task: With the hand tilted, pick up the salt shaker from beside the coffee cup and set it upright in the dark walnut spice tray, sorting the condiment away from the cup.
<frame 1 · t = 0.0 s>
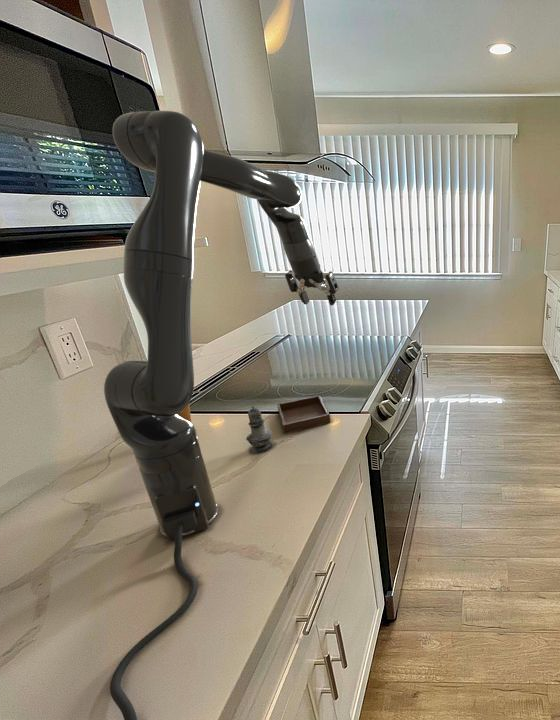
hand: (320, 303, 120), 31 cm above the worktop, tool tilted 20°, fingers open, 8 cm apart
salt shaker: (262, 448, 102), on the worktop
spice tray: (304, 416, 118), on the worktop
disposable coffee cup: (178, 436, 107), on the worktop
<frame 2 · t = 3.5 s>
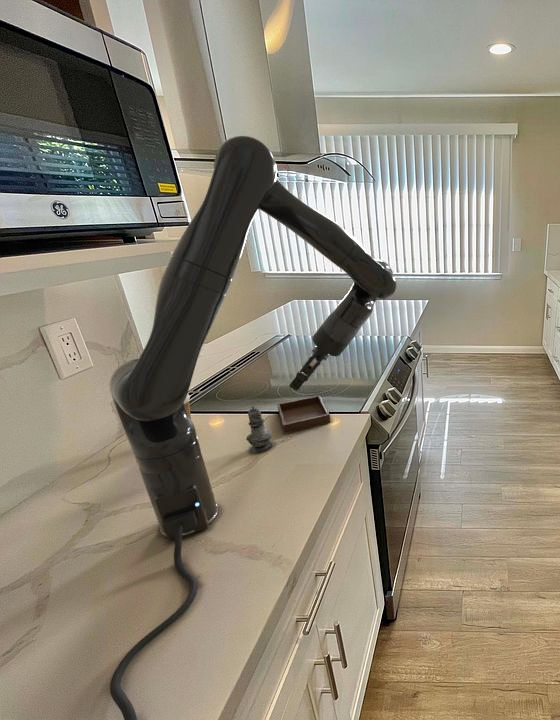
hand: (298, 380, 97), 18 cm above the worktop, tool tilted 40°, fingers open, 8 cm apart
nothing on the worktop moved.
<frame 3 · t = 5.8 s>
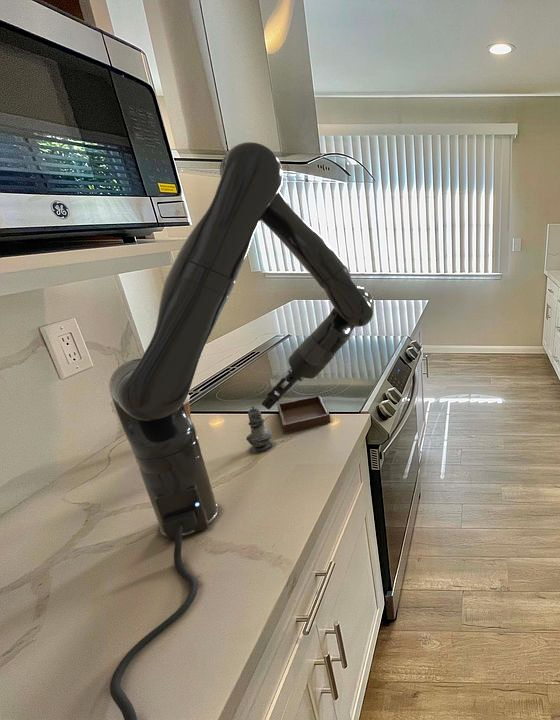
hand: (274, 398, 98), 14 cm above the worktop, tool tilted 45°, fingers open, 8 cm apart
nothing on the worktop moved.
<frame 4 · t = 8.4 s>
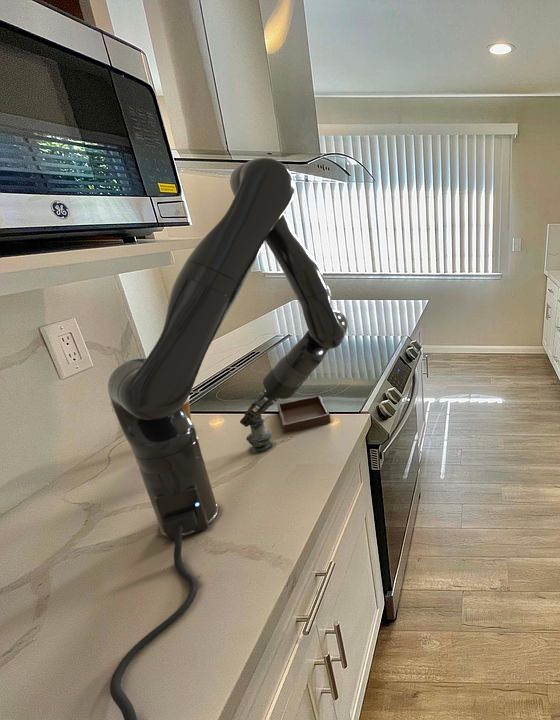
hand: (247, 420, 99), 8 cm above the worktop, tool tilted 45°, fingers closed on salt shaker, 3 cm apart
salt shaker: (262, 448, 102), on the worktop, touching gripper
everything else where it was.
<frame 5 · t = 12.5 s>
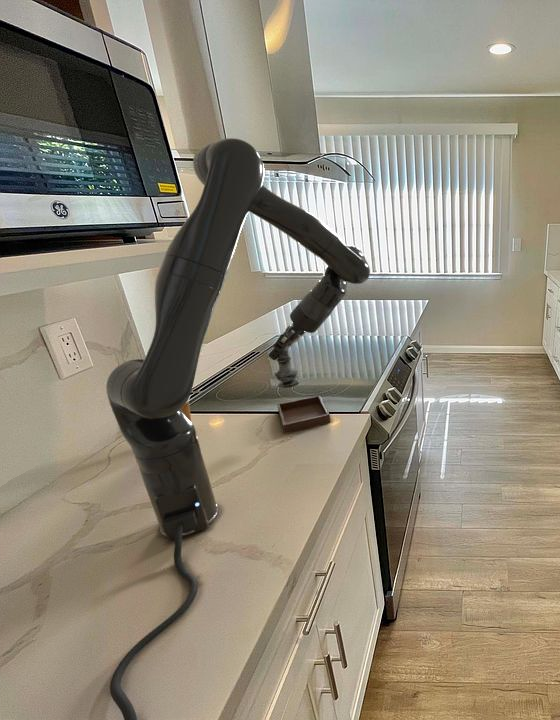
hand: (274, 355, 106), 21 cm above the worktop, tool tilted 45°, fingers closed on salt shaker, 3 cm apart
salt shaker: (288, 384, 110), point 12 cm above the worktop, touching gripper
everything else where it was.
when the fingers open (9 cm above the worktop, at t = 16.5 s): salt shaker stays where it is, resting on spice tray.
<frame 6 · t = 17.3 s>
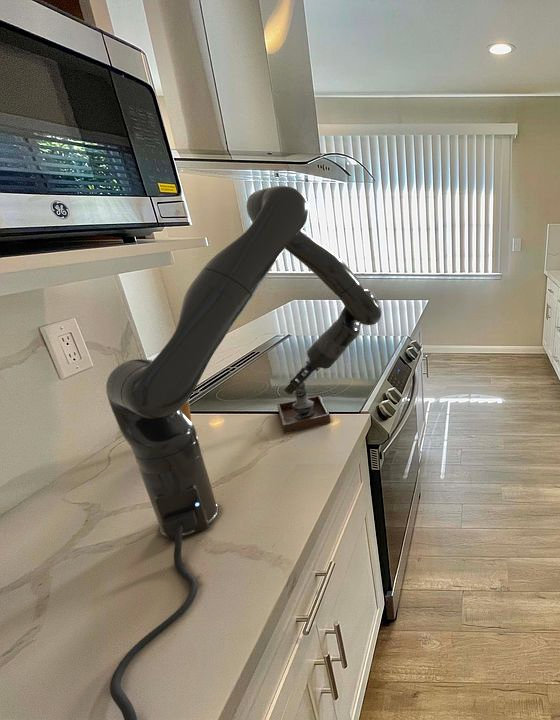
hand: (294, 386, 114), 10 cm above the worktop, tool tilted 45°, fingers open, 8 cm apart
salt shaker: (305, 415, 118), resting on spice tray
everything else where it was.
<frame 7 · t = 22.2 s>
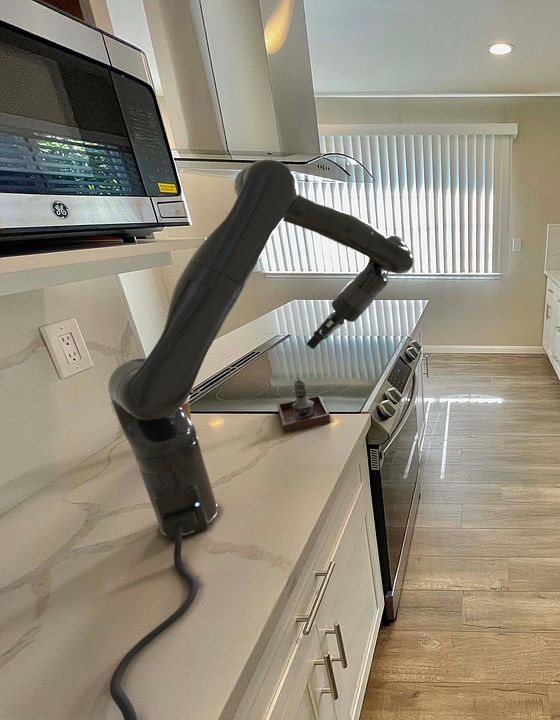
hand: (316, 341, 107), 24 cm above the worktop, tool tilted 45°, fingers open, 8 cm apart
nothing on the worktop moved.
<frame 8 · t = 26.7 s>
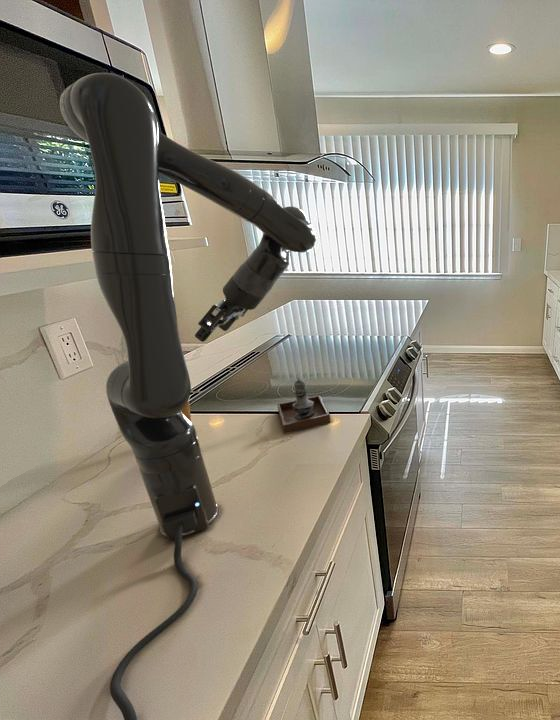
hand: (211, 333, 92), 31 cm above the worktop, tool tilted 45°, fingers open, 8 cm apart
nothing on the worktop moved.
at the end: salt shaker inside the target area in the spice tray (0.3 cm from its centre), point 0.4 cm above the spice tray's base; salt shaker tilted 0°; the gripper is holding nothing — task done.
